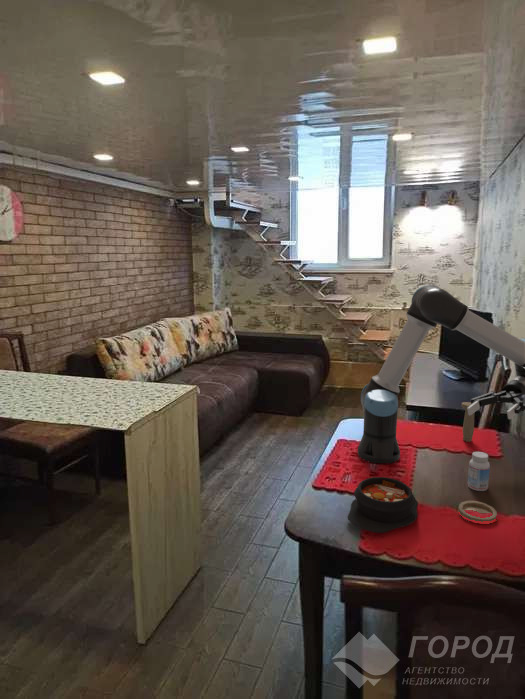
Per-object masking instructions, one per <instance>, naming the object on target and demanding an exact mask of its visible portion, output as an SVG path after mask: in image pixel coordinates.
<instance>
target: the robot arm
mask: <svg viewBox="0 0 525 699" xmlns="http://www.w3.org/2000/svg"><path fill="white" fill-rule="evenodd" d="M406 318H407V320H406V322H405V323H404V326H403V328H402V330H401V331H400V334H399V335H398V337H397V339H396V340H395V343H394V344H393V346H392V348H391V350H390V352H389V354H388V355H387V357H386V359H385V361H384V363H383V364H382V367H380V368H381V369H380V371H379V372H378V374H376V375H373V376H372V377H371V378H370V380H369V382H368V383H367V384H365V386H364V387H363V389H362V391H361V393H360V398H359V399H360V403H361V407H362V410H363V434H362V436H361V439H360V442H359V444H358V448H357V455H359V456H358V457H359V458H360V457H361V458H362V459H361V458H360V459H361V460H363V459H364V460H363V461H365V462H367V461H369V462H368V463H371V462H373V463H372V464H376V463H380V464H379V465H382V464H381V463H390V464H393V463H392V462H394V463H396V462H395V461H397V460H398V459H399V458H400V459H401V449H400V446H399V442H398V439H397V429H398V428H397V425H398V411H399V410H398V409H399V399H398V395H399V394H400V391H401V390H400V387H399V385H400V383H401V381H402V380H403V378H404V376H405V374H406V372H407V371H408V369H409V367H410V365H411V363H412V362H413V360H414V358H415V356H416V355H417V353H418V352H419V349H420V347H421V346H422V344H423V341H424V340H425V338H426V337H427V335H428V333H429V331H431V330H433V329H435V328H436V327H437V325H440V326H442V327H445V328H447V329H449V330H450V331H458V332H460V333H462V334H463V335H464V336H465V335H466V336H467V337H469V338H471V339H472V340H474V341H476V342H477V343H479V344H481V345H483V346H484V347H485V348H488V349H490V350H491V351H493V352H495V353H497V354H499V355H501V356H502V357H503V358H505V359H508V360H509V361H511V362H513V365H514V368H515V375H516V376H515V377H514V378H512V379H511V380H510V381H509V382H507V383H506V384H505V385H504V386H503V387H502V389H501V391H500V392H497V393H495V391H494V390H490V391H489V392H488V393H484V394H481V395H479V396H476V397H472V398H471V399H470V402H471V405H470V406H469V407H468V408H467V410H468V415H472V414H473V413H474V412H477V411H478V410H480V409H481V407H485V406H489V405H494V404H496V405H498V404H505V403H506V404H513V405H512V406H511V407H510V408H509V409H508V410H507V411H506V414H507V420H512V419H513V418H514V417H515V416H516V415H518V414H520V413H521V412H525V403H524V402H525V338H518V337H516V336H514V335H513V334H511V333H509V332H508V331H506V330H505V329H502V328H500V327H499V326H497V325H495V324H494V323H492V322H490V321H488V320H487V319H485V318H483V317H481V316H479V315H478V314H476V313H474V312H473V311H471V310H470V309H469V306H468V305H466V304H465V303H463V302H461V301H460V300H459V299H457V298H456V297H454V295H452V294H451V293H450V292H448V291H447V290H445V289H443V288H441V287H439V286H437V285H431V284H429V285H428V284H427V285H423V286H421V287H419V288H418V289H416V291H414V294H413V295H412V298H411V304H410V305H409V307H408V309H407V310H406ZM474 414H475V413H474ZM400 459H399V460H400ZM399 460H398V461H399ZM398 461H397V462H398Z"/></svg>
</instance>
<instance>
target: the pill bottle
mask: <svg viewBox="0 0 525 699" xmlns="http://www.w3.org/2000/svg"><path fill="white" fill-rule="evenodd" d="M490 470H491V465H490V462H489V455H488V453H487V452H482V451H473V452H472V454H471V459H470V460H469V462H468V474H467V486H468V488H469V489H471V490H474V491H477V492H485V491H487V490H489V489H488V488H489V479H490Z"/></svg>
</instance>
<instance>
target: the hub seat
mask: <svg viewBox="0 0 525 699" xmlns="http://www.w3.org/2000/svg"><path fill="white" fill-rule="evenodd" d="M458 504H459V505H458V508H457V512H458V511H459V512H460V514H461V515H462V516H464V517H466V518H468V519H470V520H475V521H481V522H483V521H492V520H494V519H496V516H497V515H498V512H497V510H496V509H495V508H494V507H493V506H491V505H489V504H487V503H485V502H481V501H477V500H465V501H462V502H459V503H458ZM464 510H473V511H477V512H479V513H490V512H491V513H492V514H493V515H492V516H490V517H486V518H480V517H476V516H472V515H470V514H468V513H466V512H465V511H464ZM497 517H498V516H497Z"/></svg>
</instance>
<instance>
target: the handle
mask: <svg viewBox="0 0 525 699" xmlns="http://www.w3.org/2000/svg"><path fill="white" fill-rule="evenodd" d="M470 405H471V401H467V402H466V401H464V402H463V401H462V402H461V408H463V409H464V410H465V411H464V418H463V426H462V436H463V437H462V440H463V441H464V442H470V443H471V442H472V441H473V435H474V431H475V412H474V413H473V414H472V415H468V410H467V408H468V407H469V406H470Z"/></svg>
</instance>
